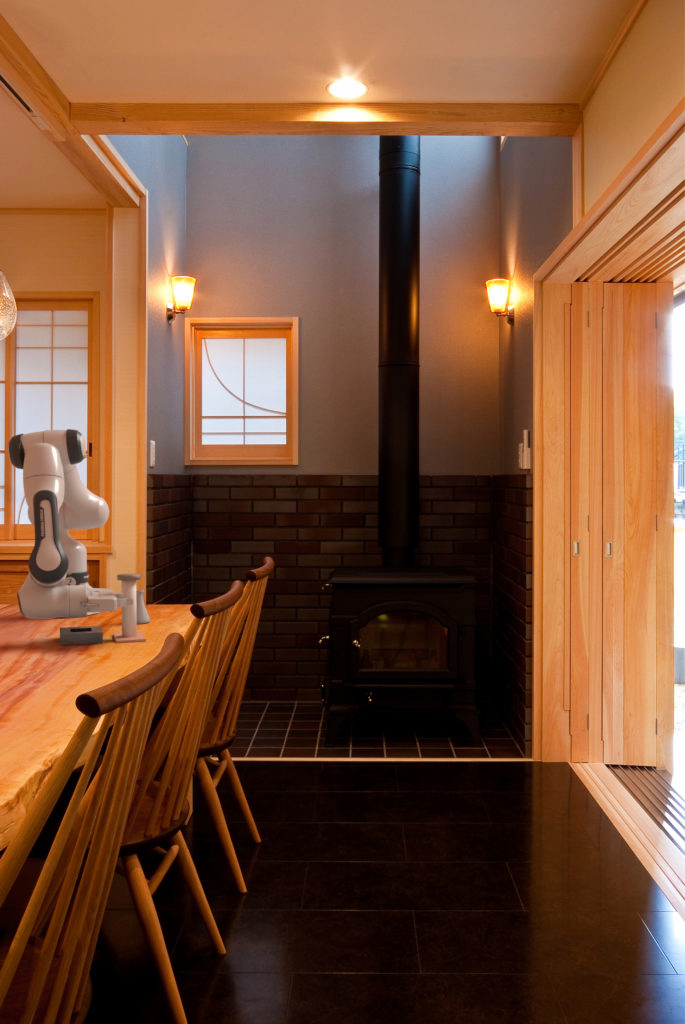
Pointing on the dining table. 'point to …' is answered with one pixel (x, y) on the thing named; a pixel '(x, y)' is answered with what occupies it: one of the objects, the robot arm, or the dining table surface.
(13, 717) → the dining table surface
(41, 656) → the dining table surface
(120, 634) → the pad
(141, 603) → the flask
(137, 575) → the peg
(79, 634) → the eye block
